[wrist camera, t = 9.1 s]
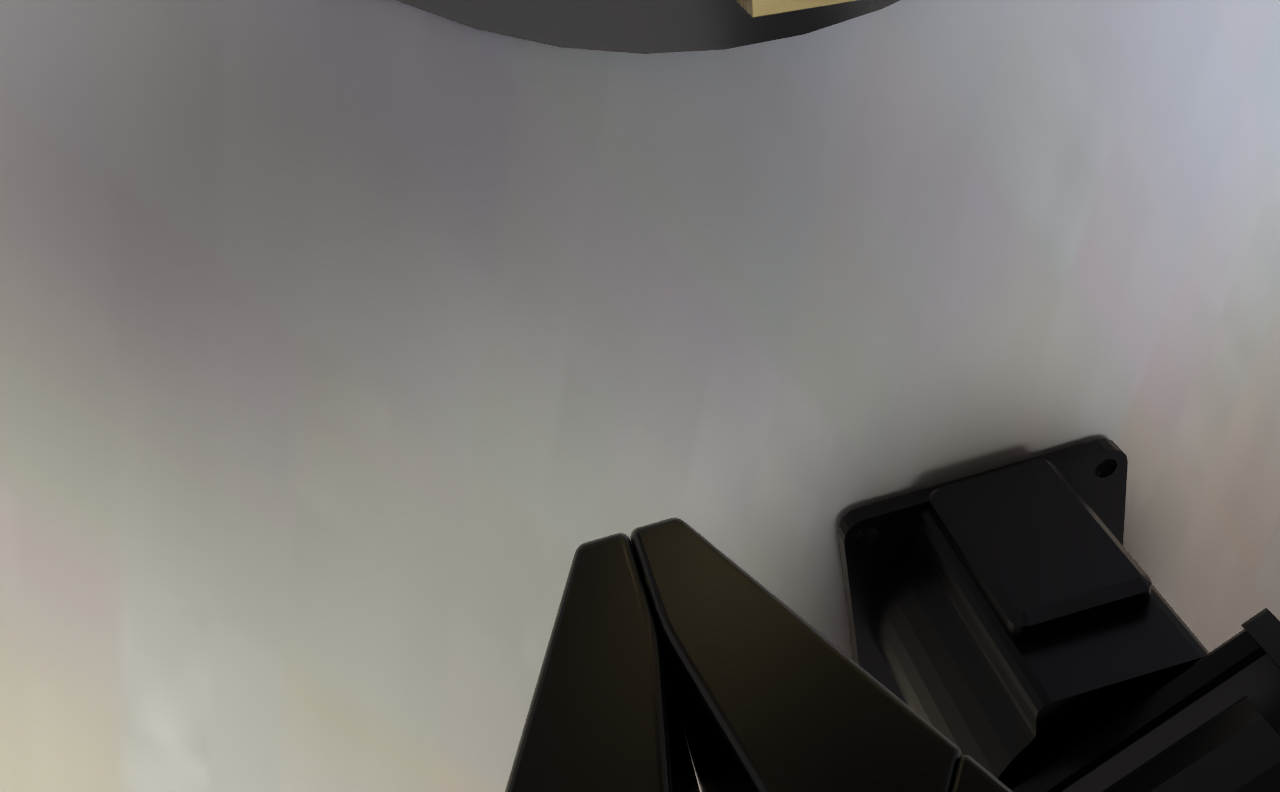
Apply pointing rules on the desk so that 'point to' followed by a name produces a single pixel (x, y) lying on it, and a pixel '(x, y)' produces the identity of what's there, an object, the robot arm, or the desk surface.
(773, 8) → the ring nut
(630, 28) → the cap plate
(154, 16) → the desk surface
